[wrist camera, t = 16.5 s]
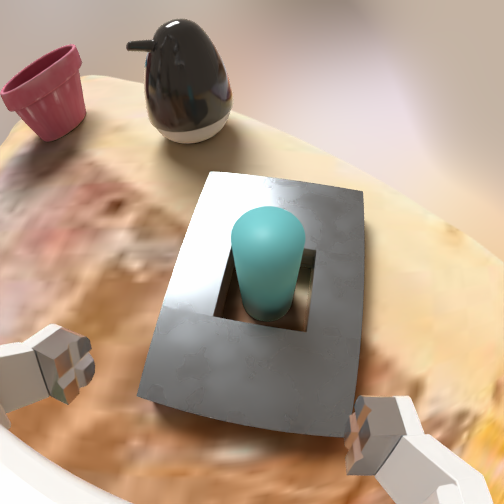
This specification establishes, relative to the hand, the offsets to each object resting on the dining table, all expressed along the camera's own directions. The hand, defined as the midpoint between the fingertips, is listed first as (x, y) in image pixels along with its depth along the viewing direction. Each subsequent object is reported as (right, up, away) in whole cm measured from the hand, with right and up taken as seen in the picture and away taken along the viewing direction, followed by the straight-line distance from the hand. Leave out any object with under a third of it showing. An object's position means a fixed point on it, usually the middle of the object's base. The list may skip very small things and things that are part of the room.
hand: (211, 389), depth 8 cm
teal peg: (+2, 0, +16) cm, 16 cm away
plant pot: (-31, +25, +32) cm, 52 cm away
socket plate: (+2, 0, +16) cm, 16 cm away
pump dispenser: (-6, +19, +28) cm, 34 cm away
